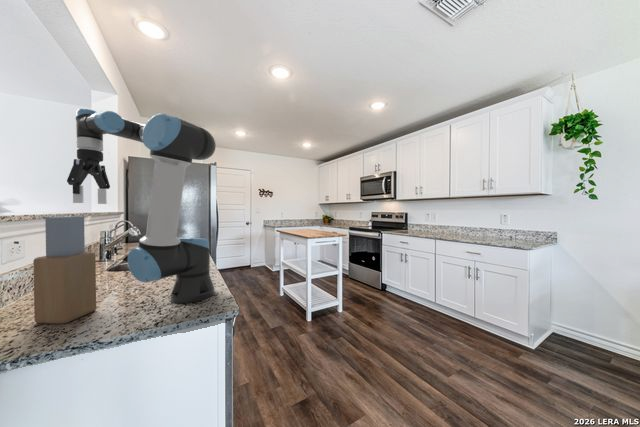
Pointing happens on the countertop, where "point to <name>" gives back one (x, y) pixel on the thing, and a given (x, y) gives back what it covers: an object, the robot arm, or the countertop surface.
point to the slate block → (64, 236)
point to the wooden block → (64, 287)
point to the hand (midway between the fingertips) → (91, 203)
